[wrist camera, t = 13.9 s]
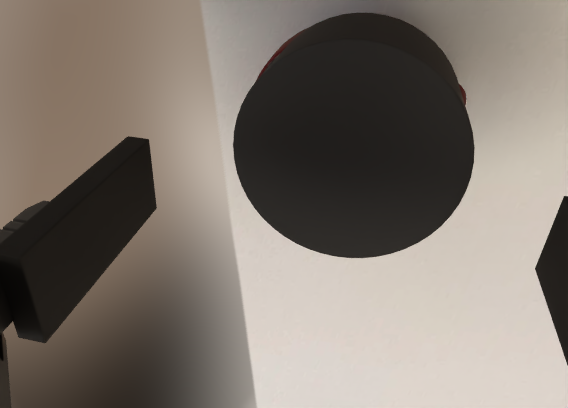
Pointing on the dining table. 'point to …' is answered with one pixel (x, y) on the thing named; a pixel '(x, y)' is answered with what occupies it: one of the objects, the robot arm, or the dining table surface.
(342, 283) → the dining table surface
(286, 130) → the puck
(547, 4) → the dining table surface
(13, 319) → the robot arm
